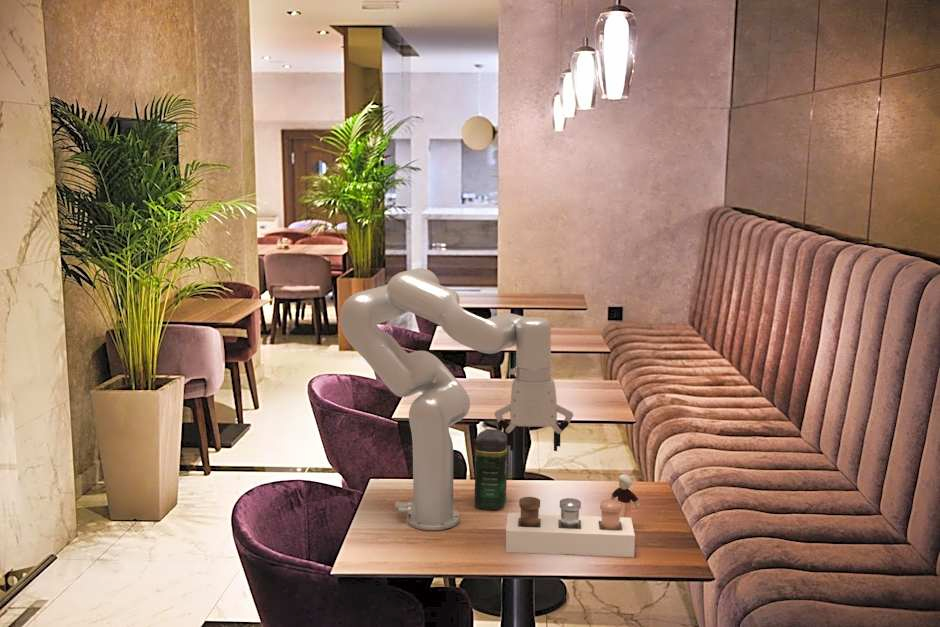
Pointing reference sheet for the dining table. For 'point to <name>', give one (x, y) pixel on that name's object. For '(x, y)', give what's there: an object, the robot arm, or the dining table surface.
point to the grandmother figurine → (625, 496)
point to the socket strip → (570, 537)
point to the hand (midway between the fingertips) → (533, 449)
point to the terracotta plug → (610, 514)
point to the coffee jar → (490, 469)
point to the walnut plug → (529, 511)
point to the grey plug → (570, 513)
